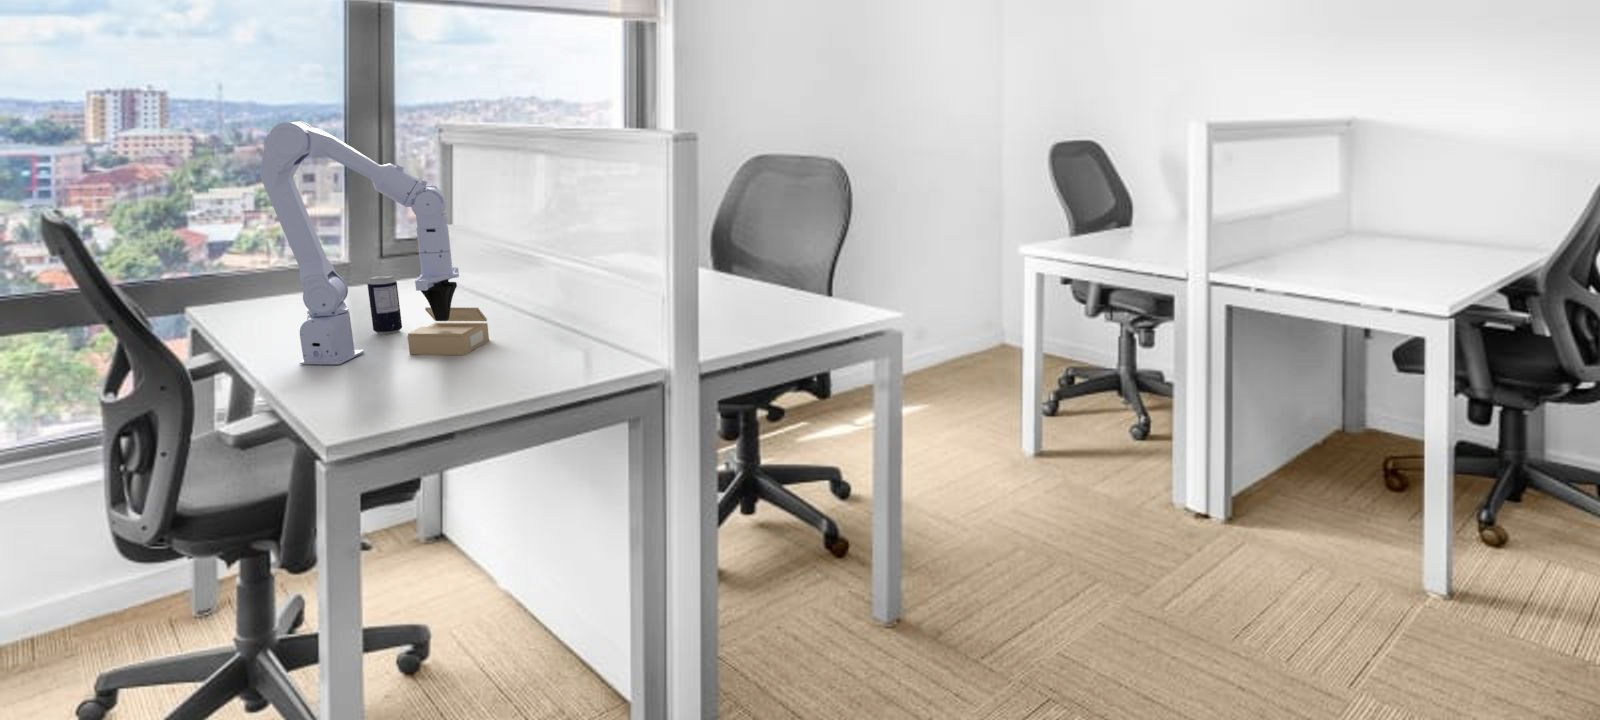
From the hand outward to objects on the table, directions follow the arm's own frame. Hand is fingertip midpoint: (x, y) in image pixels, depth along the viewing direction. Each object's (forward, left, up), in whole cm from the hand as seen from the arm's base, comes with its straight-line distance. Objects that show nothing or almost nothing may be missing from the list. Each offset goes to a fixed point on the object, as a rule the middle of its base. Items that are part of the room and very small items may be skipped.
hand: (442, 320), depth 197 cm
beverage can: (+14, +19, -6) cm, 24 cm away
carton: (+2, 0, -6) cm, 6 cm away
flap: (+6, 0, 0) cm, 6 cm away
